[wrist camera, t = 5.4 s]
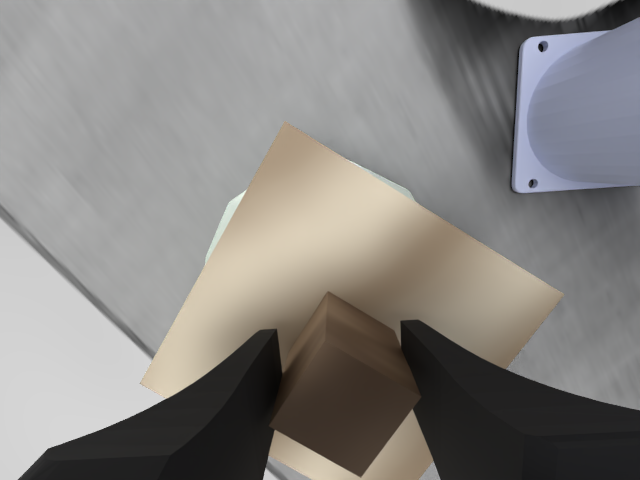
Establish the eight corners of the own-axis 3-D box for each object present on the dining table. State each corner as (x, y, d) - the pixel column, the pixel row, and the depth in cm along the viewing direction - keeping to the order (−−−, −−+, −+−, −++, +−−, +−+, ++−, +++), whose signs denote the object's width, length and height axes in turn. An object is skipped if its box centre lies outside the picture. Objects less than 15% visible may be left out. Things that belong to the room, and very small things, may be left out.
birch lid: (550, 287, 13) (674, 348, 8) (383, 502, 15) (406, 650, 10) (288, 125, 12) (259, 89, 8) (150, 372, 14) (60, 465, 10)
